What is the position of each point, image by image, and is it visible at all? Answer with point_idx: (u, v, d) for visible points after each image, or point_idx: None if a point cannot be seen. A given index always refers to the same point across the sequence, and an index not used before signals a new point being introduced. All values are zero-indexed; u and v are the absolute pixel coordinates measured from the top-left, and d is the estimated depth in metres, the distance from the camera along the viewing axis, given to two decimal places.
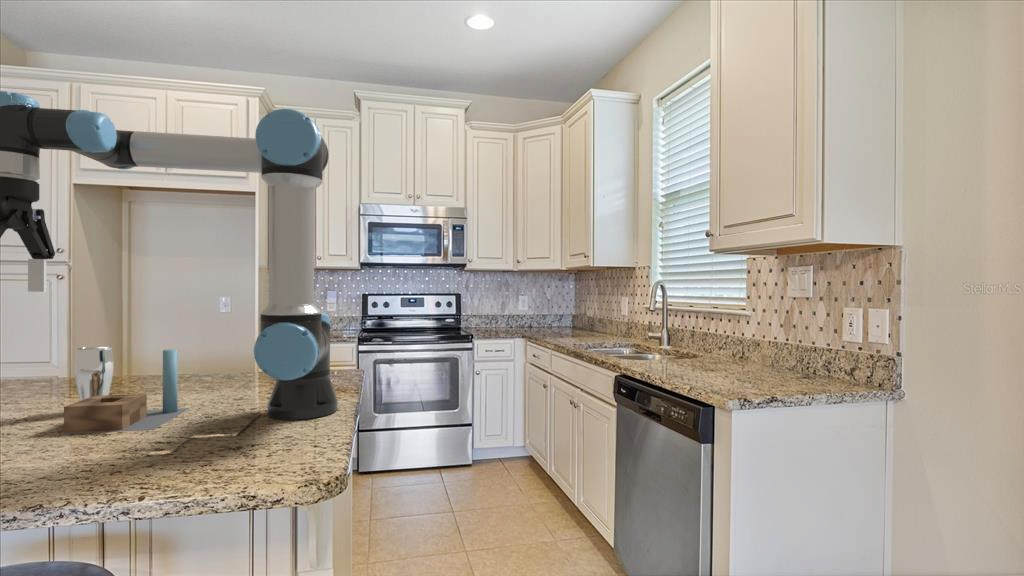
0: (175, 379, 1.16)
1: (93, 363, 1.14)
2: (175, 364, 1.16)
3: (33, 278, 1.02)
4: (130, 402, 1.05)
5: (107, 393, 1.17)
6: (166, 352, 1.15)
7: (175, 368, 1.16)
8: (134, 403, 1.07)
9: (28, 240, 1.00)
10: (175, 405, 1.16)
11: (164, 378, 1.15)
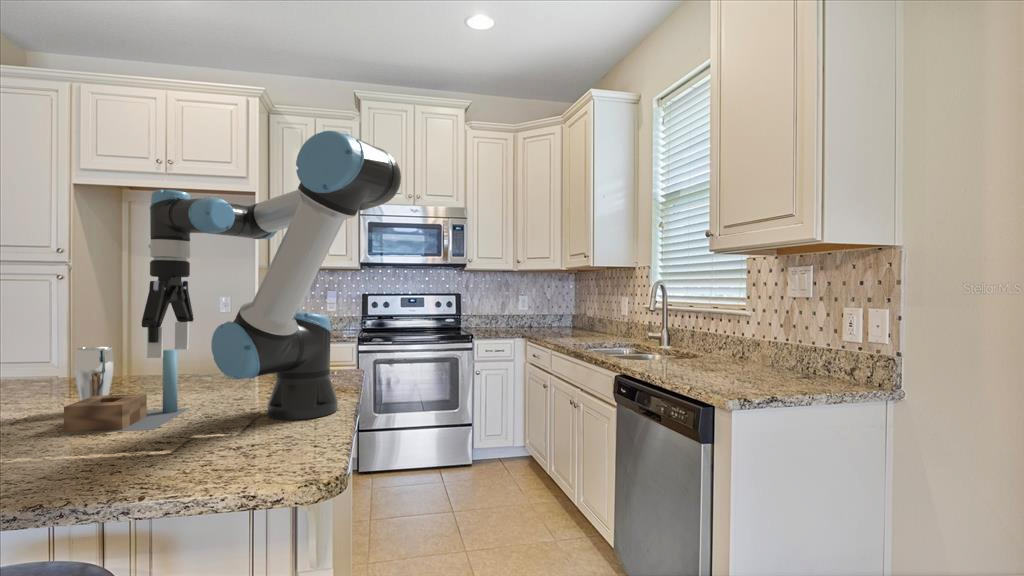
0: (175, 379, 1.16)
1: (93, 363, 1.14)
2: (175, 364, 1.16)
3: (179, 338, 1.22)
4: (130, 402, 1.05)
5: (107, 393, 1.17)
6: (166, 352, 1.15)
7: (175, 368, 1.16)
8: (134, 403, 1.07)
9: (177, 307, 1.20)
10: (175, 405, 1.16)
11: (164, 378, 1.15)
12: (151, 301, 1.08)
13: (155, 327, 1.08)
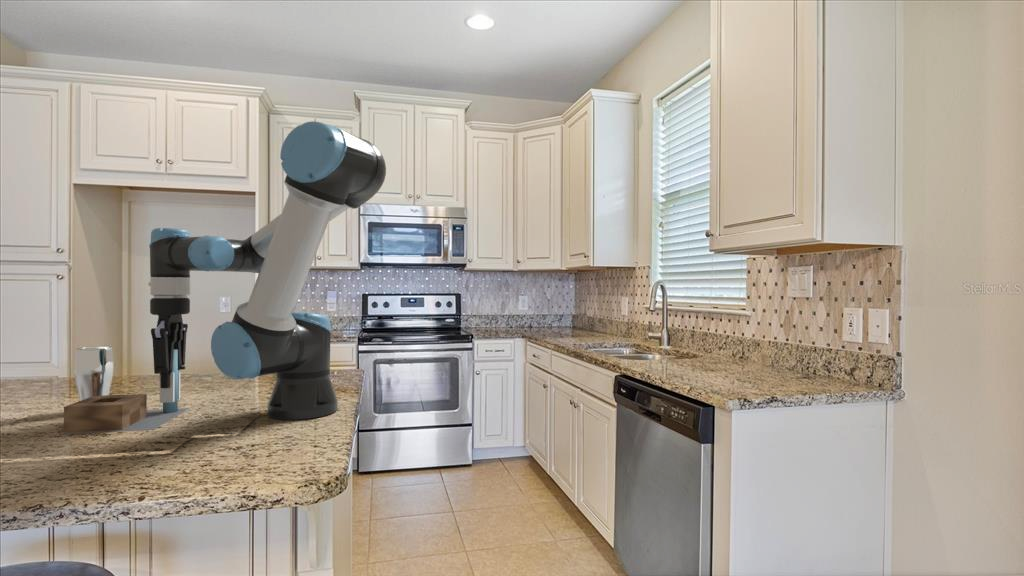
0: (175, 379, 1.16)
1: (93, 363, 1.14)
2: (175, 364, 1.16)
3: None
4: (130, 402, 1.05)
5: (107, 393, 1.17)
6: None
7: (175, 368, 1.16)
8: (134, 403, 1.07)
9: None
10: (175, 405, 1.16)
11: None
12: (157, 349, 1.11)
13: (167, 373, 1.13)
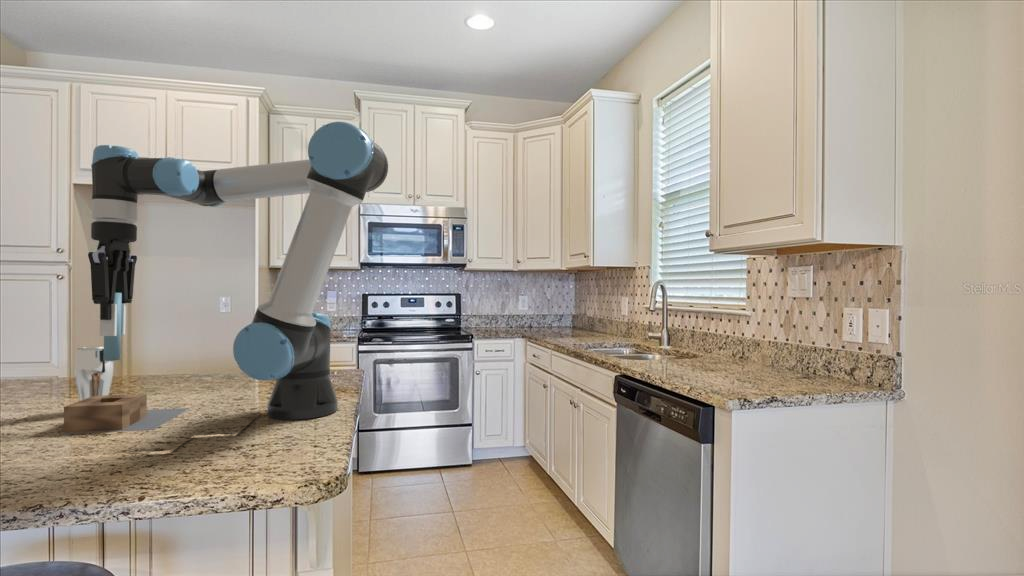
0: (118, 324, 1.07)
1: (93, 363, 1.14)
2: (118, 308, 1.07)
3: None
4: (130, 402, 1.05)
5: (107, 393, 1.17)
6: None
7: (118, 312, 1.07)
8: (134, 403, 1.07)
9: (117, 280, 1.08)
10: (117, 352, 1.07)
11: None
12: (96, 276, 1.01)
13: (107, 304, 1.04)
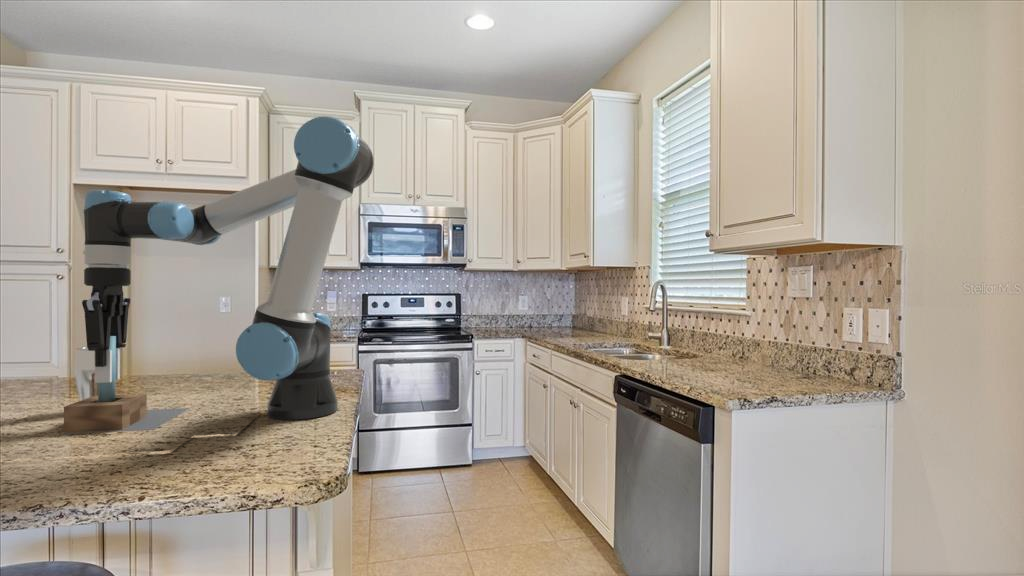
0: (112, 368, 1.05)
1: (93, 363, 1.14)
2: (112, 352, 1.05)
3: None
4: (130, 402, 1.05)
5: None
6: None
7: (112, 356, 1.05)
8: (134, 403, 1.07)
9: (110, 324, 1.07)
10: (112, 397, 1.05)
11: None
12: (90, 323, 1.00)
13: (102, 350, 1.03)
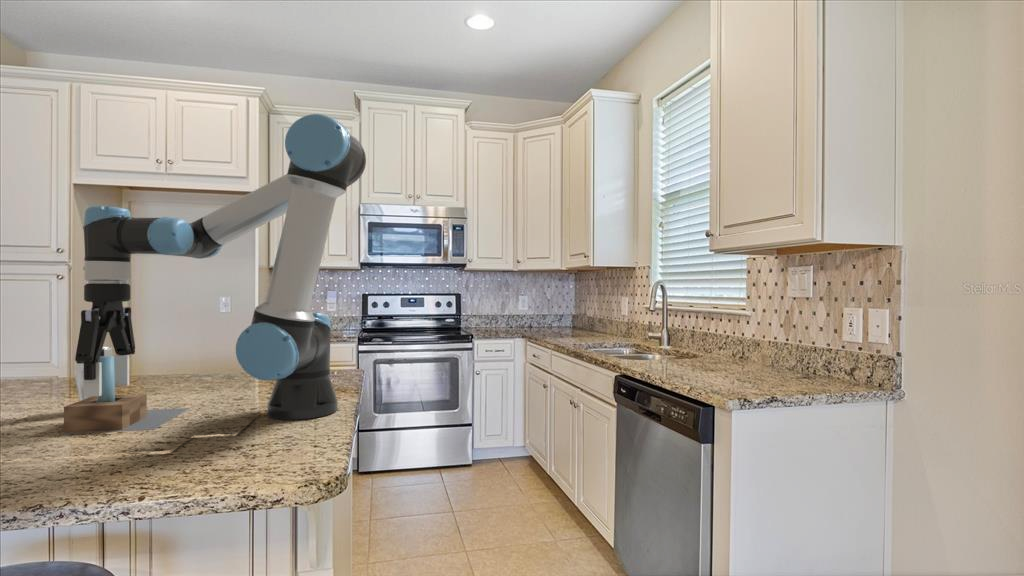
0: (111, 388, 1.05)
1: None
2: (111, 372, 1.05)
3: (118, 373, 1.10)
4: (130, 402, 1.05)
5: None
6: (100, 359, 1.04)
7: (111, 376, 1.05)
8: (134, 403, 1.07)
9: (116, 337, 1.09)
10: None
11: None
12: (84, 334, 0.98)
13: (91, 363, 0.99)
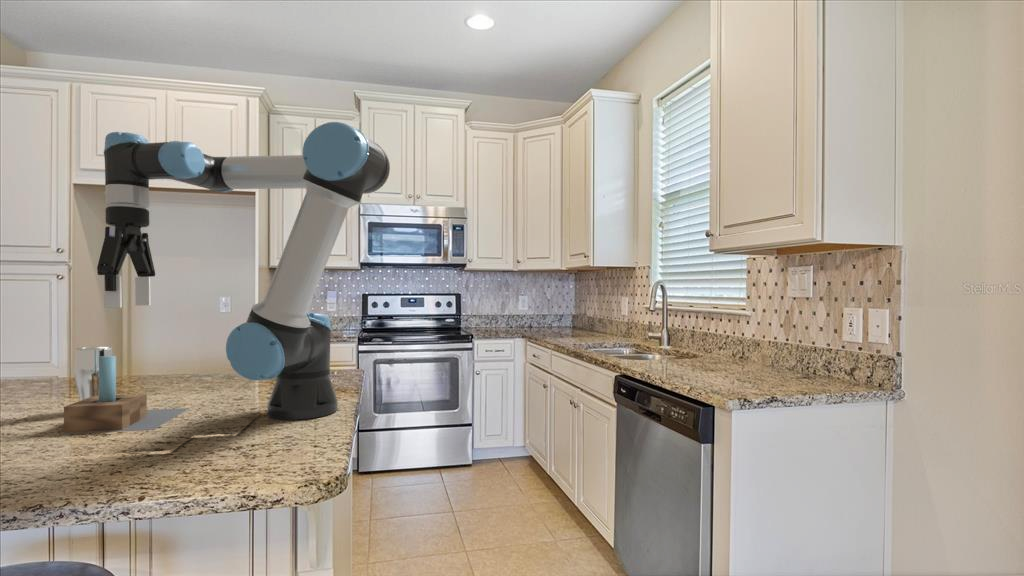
0: (113, 388, 1.05)
1: (93, 363, 1.14)
2: (113, 372, 1.05)
3: (140, 293, 1.16)
4: (130, 402, 1.05)
5: None
6: (102, 359, 1.04)
7: (113, 376, 1.05)
8: (134, 403, 1.07)
9: (137, 260, 1.14)
10: None
11: (100, 387, 1.04)
12: (107, 247, 1.02)
13: (112, 274, 1.02)
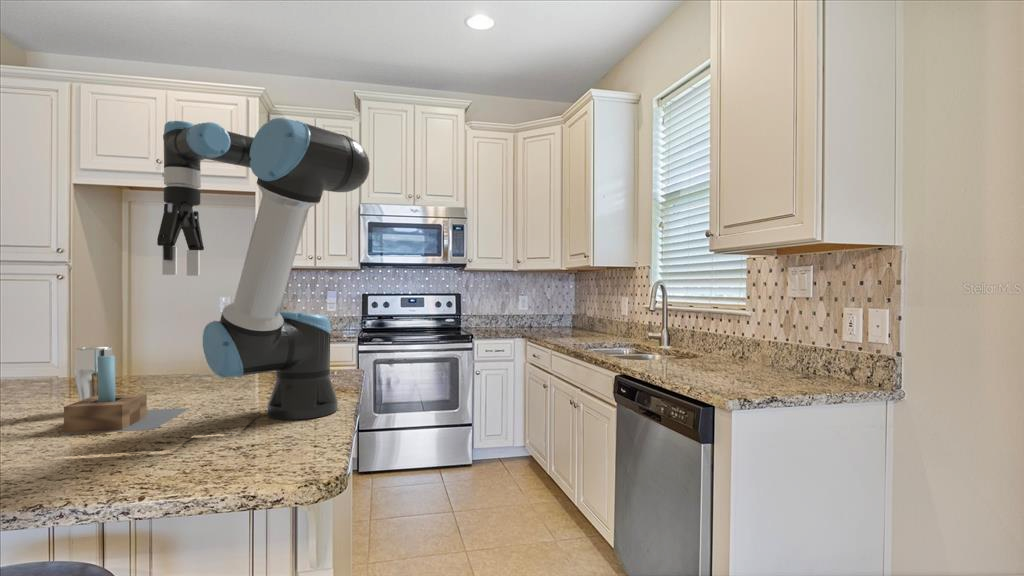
0: (112, 388, 1.05)
1: (93, 363, 1.14)
2: (112, 371, 1.05)
3: (190, 265, 1.31)
4: (130, 402, 1.05)
5: None
6: (101, 358, 1.04)
7: (112, 376, 1.05)
8: (134, 403, 1.07)
9: (189, 235, 1.29)
10: None
11: (99, 387, 1.04)
12: (166, 221, 1.17)
13: (170, 245, 1.17)
